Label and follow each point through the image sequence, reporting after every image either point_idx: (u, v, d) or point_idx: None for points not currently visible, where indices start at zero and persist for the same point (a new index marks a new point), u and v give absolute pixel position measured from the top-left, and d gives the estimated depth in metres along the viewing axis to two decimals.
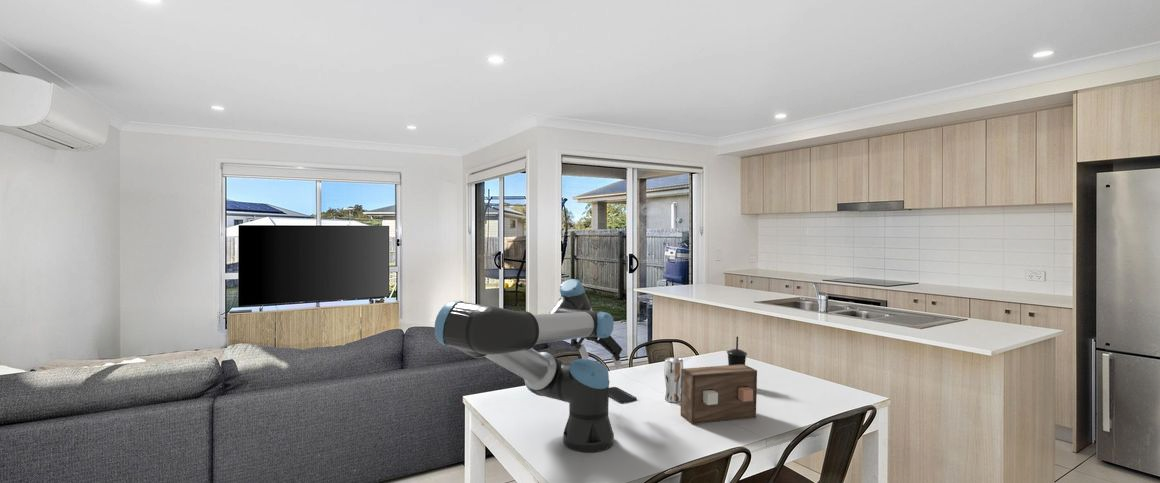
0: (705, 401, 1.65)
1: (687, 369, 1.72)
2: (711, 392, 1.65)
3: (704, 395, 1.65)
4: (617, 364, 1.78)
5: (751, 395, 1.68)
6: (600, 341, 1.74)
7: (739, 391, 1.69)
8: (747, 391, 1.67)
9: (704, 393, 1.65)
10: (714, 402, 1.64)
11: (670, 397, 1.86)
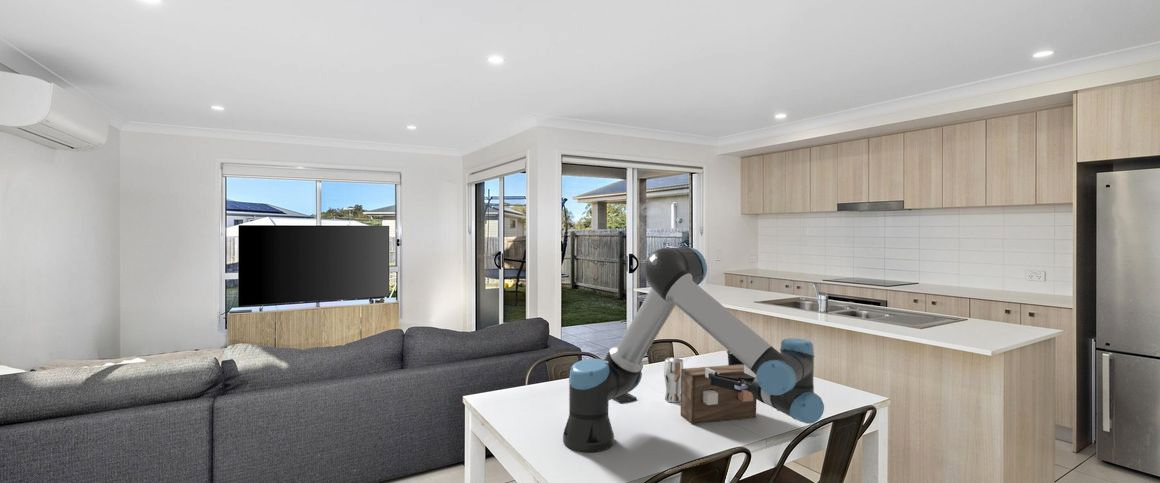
0: (705, 401, 1.65)
1: (687, 369, 1.72)
2: (711, 392, 1.65)
3: (704, 395, 1.65)
4: (708, 371, 1.53)
5: (751, 395, 1.68)
6: (738, 379, 1.43)
7: None
8: (747, 391, 1.67)
9: (704, 393, 1.65)
10: (714, 402, 1.64)
11: (670, 397, 1.86)
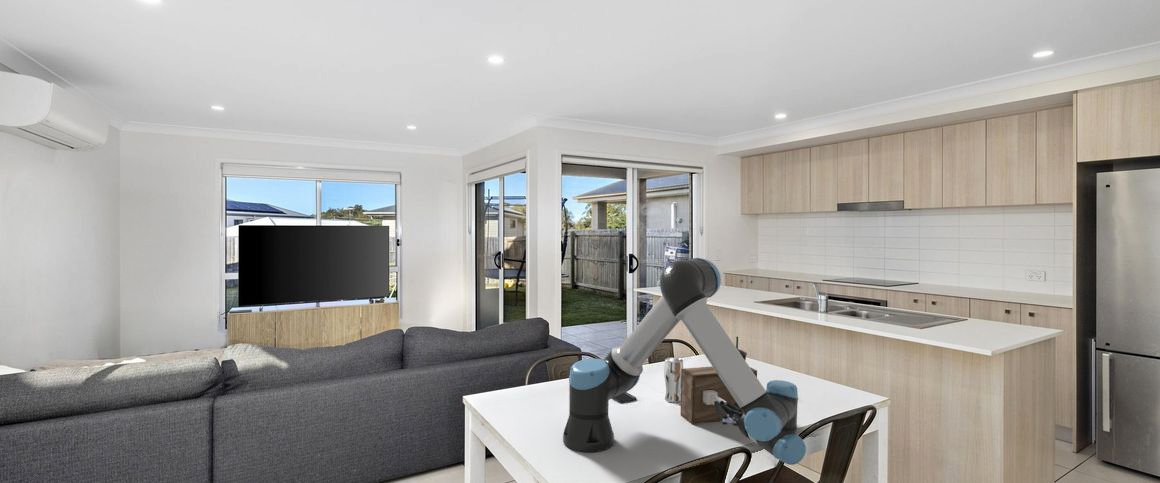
0: (705, 401, 1.65)
1: (687, 369, 1.72)
2: (711, 392, 1.65)
3: (704, 395, 1.66)
4: (714, 398, 1.62)
5: None
6: (731, 412, 1.50)
7: None
8: None
9: (704, 393, 1.66)
10: None
11: (670, 397, 1.86)
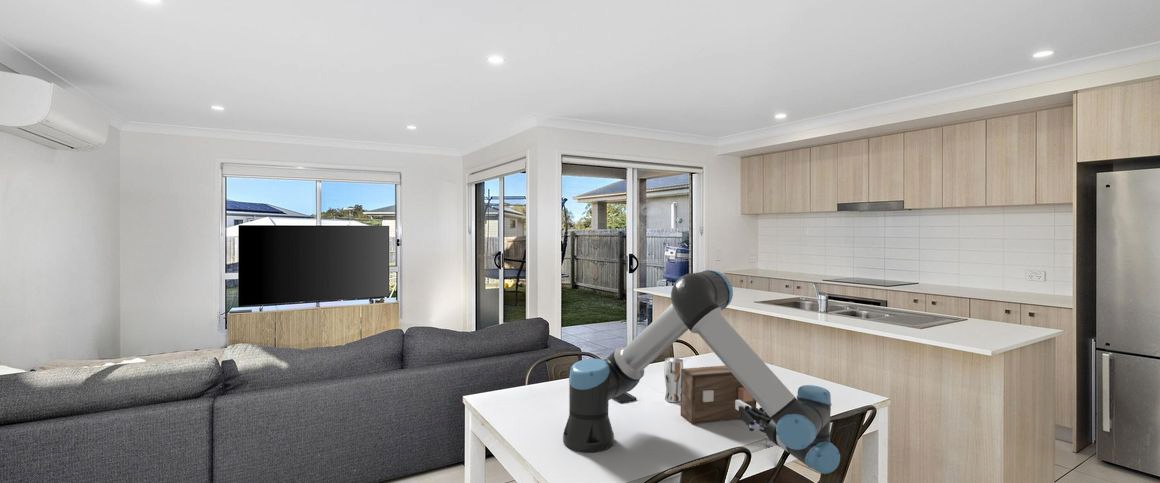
0: None
1: (687, 369, 1.72)
2: (707, 389, 1.67)
3: None
4: (738, 403, 1.57)
5: None
6: (758, 417, 1.45)
7: (739, 391, 1.69)
8: (747, 391, 1.67)
9: None
10: (710, 399, 1.67)
11: (670, 397, 1.86)
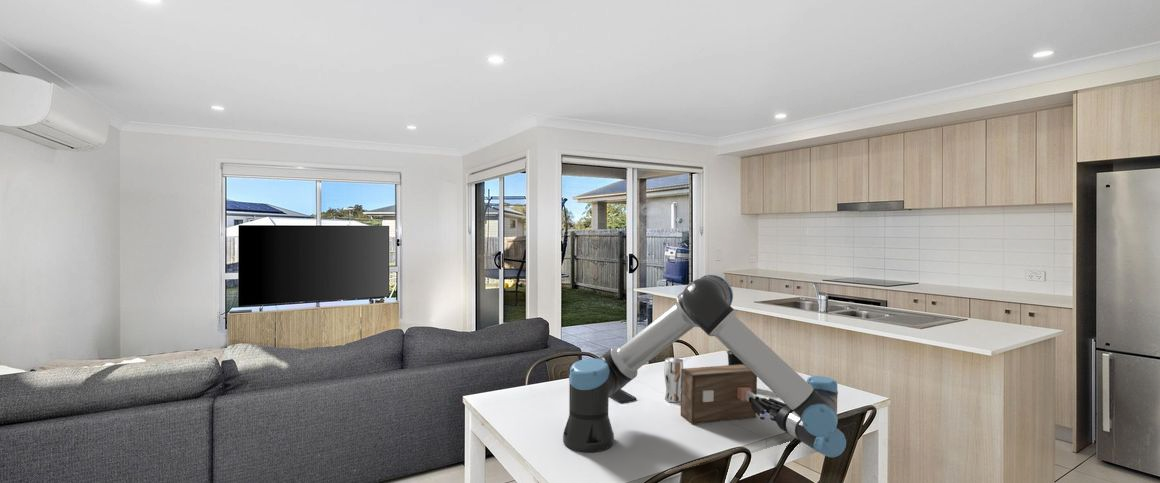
0: None
1: (687, 369, 1.72)
2: (707, 389, 1.67)
3: None
4: (748, 394, 1.66)
5: None
6: (768, 407, 1.54)
7: (738, 390, 1.70)
8: (745, 390, 1.68)
9: None
10: (710, 399, 1.67)
11: (670, 397, 1.86)
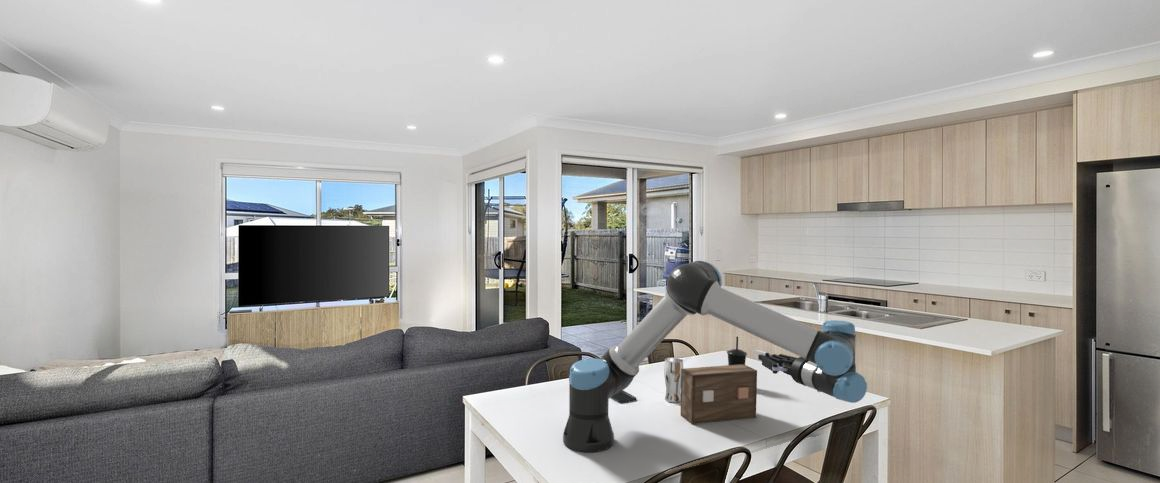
0: None
1: (687, 369, 1.72)
2: (707, 389, 1.67)
3: None
4: (757, 352, 1.60)
5: (746, 392, 1.70)
6: (780, 361, 1.48)
7: None
8: (742, 388, 1.70)
9: None
10: (710, 399, 1.67)
11: (670, 397, 1.86)
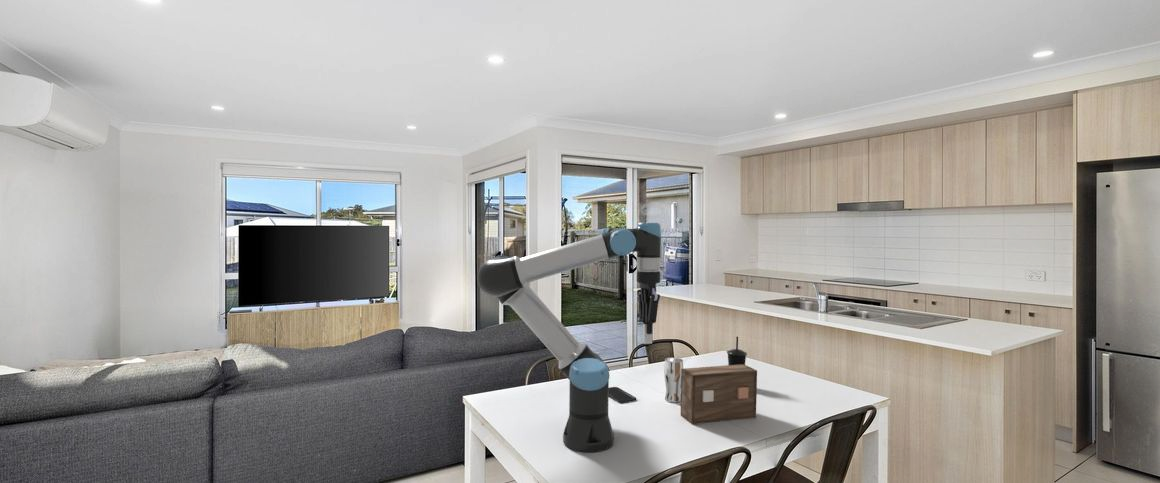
0: None
1: (687, 369, 1.72)
2: (707, 389, 1.67)
3: None
4: (646, 339, 1.64)
5: (746, 392, 1.70)
6: (647, 302, 1.62)
7: None
8: (742, 388, 1.70)
9: None
10: (710, 399, 1.67)
11: (670, 397, 1.86)
